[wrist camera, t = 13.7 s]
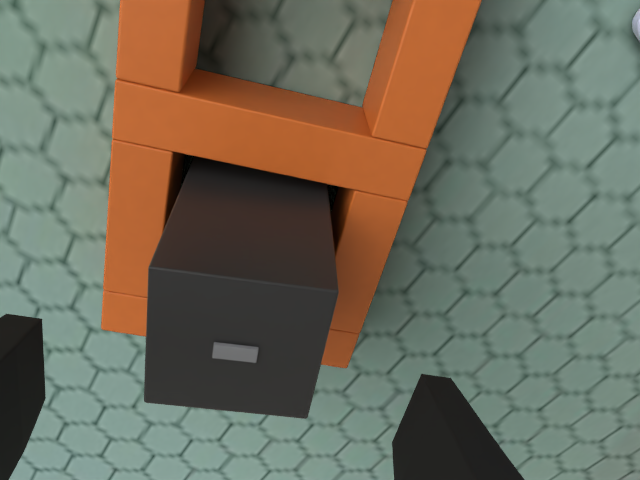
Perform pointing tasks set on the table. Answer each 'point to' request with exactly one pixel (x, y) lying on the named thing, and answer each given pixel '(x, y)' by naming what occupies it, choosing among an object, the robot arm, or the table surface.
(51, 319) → the table surface
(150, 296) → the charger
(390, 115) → the orange two-hole brick
